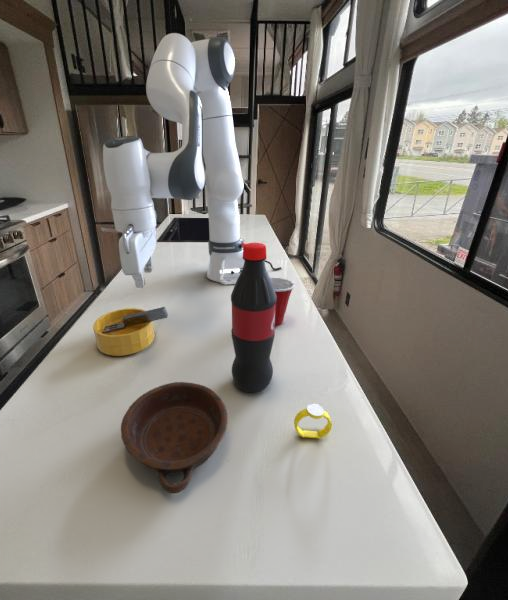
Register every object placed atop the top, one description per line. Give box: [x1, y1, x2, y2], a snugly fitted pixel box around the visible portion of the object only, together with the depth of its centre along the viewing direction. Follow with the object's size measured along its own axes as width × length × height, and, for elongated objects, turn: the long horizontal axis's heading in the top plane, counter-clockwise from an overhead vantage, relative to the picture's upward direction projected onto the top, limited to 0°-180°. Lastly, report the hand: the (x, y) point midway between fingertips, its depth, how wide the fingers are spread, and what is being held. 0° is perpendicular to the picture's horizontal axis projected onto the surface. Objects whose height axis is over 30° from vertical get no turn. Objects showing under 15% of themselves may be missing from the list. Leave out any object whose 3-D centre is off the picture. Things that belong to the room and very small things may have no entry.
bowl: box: [92, 307, 155, 357], centre depth 82 cm, size 14×14×6 cm
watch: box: [293, 403, 333, 440], centre depth 54 cm, size 6×3×6 cm, turn 87°
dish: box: [120, 381, 229, 495], centre depth 55 cm, size 18×22×5 cm
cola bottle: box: [230, 242, 277, 393], centre depth 62 cm, size 8×8×30 cm
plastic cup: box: [270, 276, 295, 327], centre depth 89 cm, size 11×11×12 cm
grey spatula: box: [102, 306, 169, 334], centre depth 81 cm, size 17×3×2 cm, turn 90°
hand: (145, 278), depth 76 cm, fingers open, 8 cm apart
